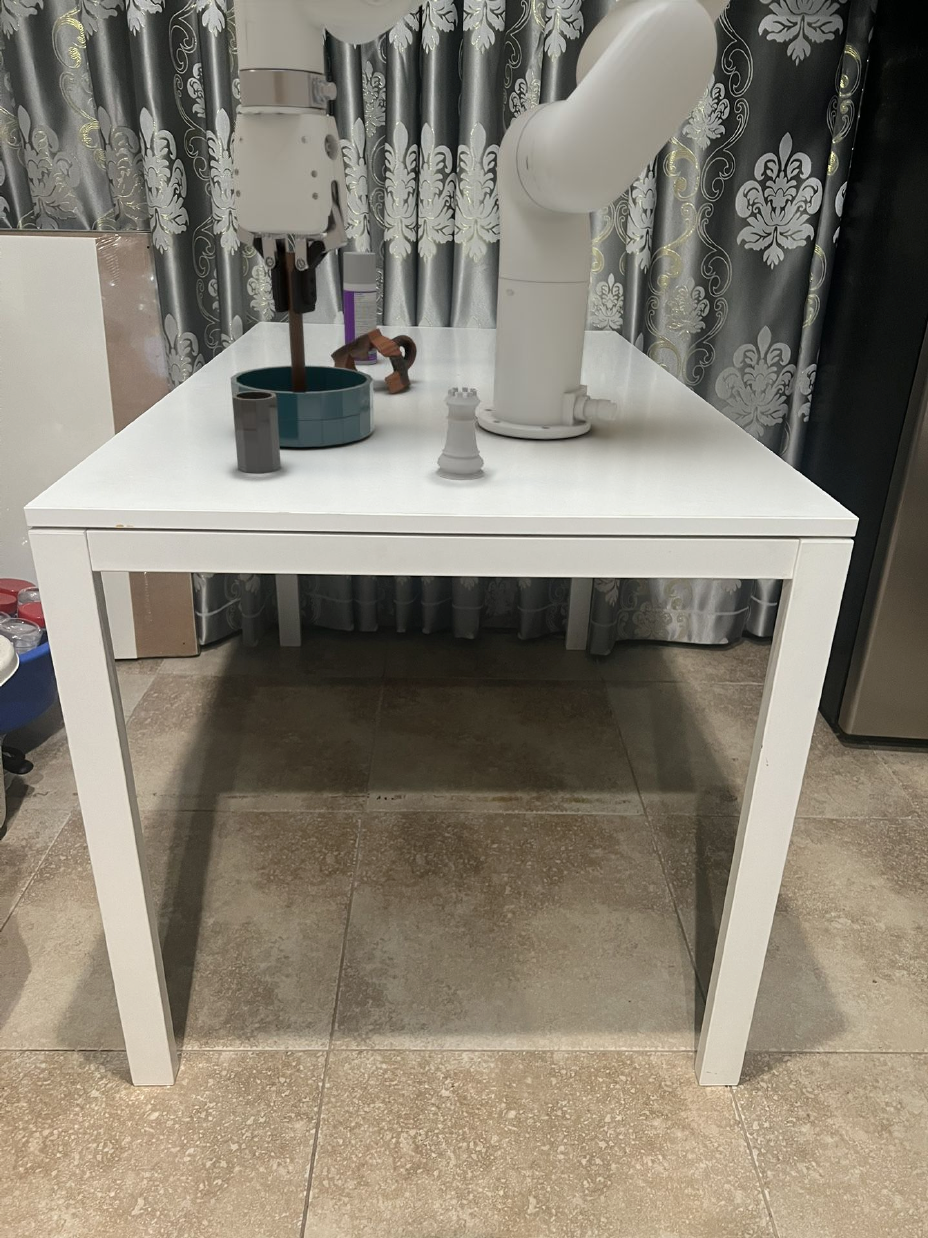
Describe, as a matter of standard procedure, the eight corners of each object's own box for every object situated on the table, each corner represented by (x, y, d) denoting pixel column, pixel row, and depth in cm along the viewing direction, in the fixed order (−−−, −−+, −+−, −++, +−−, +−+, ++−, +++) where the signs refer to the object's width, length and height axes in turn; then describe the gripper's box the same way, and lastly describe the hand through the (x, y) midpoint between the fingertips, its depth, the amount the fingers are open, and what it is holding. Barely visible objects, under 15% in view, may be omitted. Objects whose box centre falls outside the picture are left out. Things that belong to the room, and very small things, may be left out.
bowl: (395, 429, 98) (395, 373, 96) (331, 462, 87) (328, 399, 84) (283, 414, 103) (280, 360, 100) (206, 443, 91) (201, 383, 89)
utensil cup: (289, 469, 84) (284, 393, 81) (265, 480, 81) (259, 401, 78) (254, 464, 85) (248, 388, 82) (229, 475, 82) (222, 397, 79)
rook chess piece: (447, 486, 81) (449, 396, 77) (428, 472, 84) (429, 386, 81) (492, 482, 82) (496, 393, 79) (472, 468, 86) (475, 383, 82)
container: (342, 359, 135) (339, 251, 129) (372, 358, 137) (370, 251, 130) (349, 365, 131) (347, 253, 125) (380, 364, 133) (379, 254, 126)
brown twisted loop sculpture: (381, 402, 112) (347, 340, 110) (343, 422, 120) (311, 364, 118) (444, 365, 119) (414, 307, 117) (404, 386, 126) (375, 331, 124)
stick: (310, 416, 95) (301, 251, 88) (303, 419, 93) (294, 252, 86) (299, 415, 95) (289, 250, 88) (291, 417, 94) (281, 251, 87)
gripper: (379, 100, 82) (383, 312, 90) (235, 101, 87) (250, 302, 95) (338, 93, 76) (346, 322, 84) (185, 94, 81) (206, 310, 89)
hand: (295, 310), depth 90 cm, fingers closed on stick, 1 cm apart
